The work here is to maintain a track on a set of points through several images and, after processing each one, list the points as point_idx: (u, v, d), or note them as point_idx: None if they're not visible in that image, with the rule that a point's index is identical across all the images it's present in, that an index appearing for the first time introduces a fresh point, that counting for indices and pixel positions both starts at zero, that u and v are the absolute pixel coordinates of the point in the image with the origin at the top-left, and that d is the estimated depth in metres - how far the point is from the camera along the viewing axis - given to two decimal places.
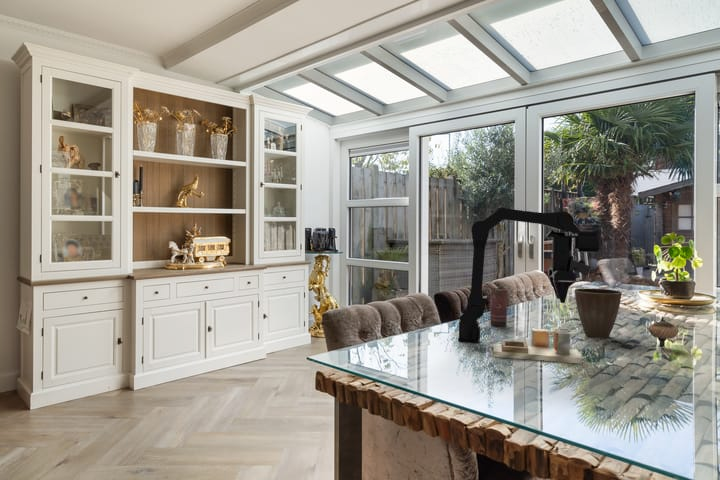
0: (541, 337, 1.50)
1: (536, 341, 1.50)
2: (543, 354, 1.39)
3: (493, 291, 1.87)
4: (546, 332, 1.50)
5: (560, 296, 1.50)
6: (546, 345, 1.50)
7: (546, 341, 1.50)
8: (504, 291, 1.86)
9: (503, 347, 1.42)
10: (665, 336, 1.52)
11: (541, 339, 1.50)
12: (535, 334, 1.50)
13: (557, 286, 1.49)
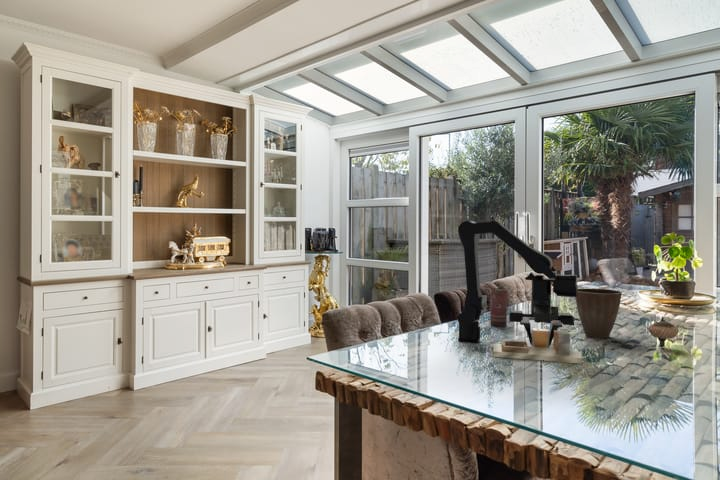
0: (540, 337, 1.50)
1: (536, 341, 1.50)
2: (543, 354, 1.39)
3: (493, 291, 1.87)
4: (546, 332, 1.50)
5: None
6: (546, 345, 1.50)
7: (546, 341, 1.50)
8: (504, 291, 1.86)
9: (503, 347, 1.42)
10: (665, 336, 1.52)
11: (541, 339, 1.50)
12: (535, 334, 1.50)
13: None
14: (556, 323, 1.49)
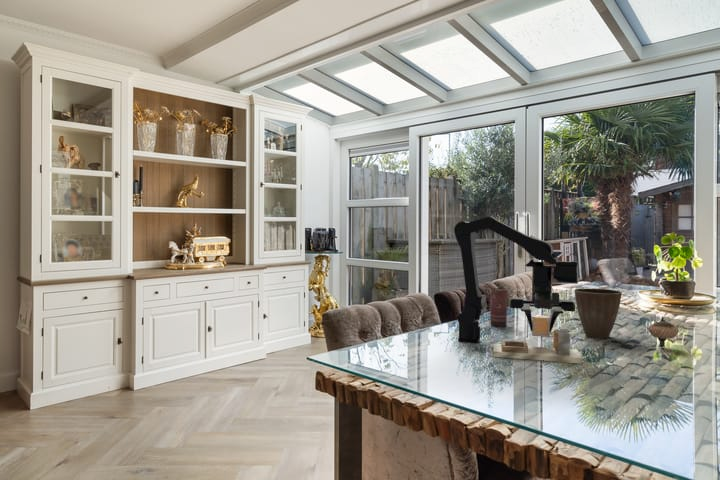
0: (541, 324, 1.50)
1: (537, 328, 1.50)
2: (543, 354, 1.39)
3: (493, 291, 1.87)
4: (546, 319, 1.49)
5: None
6: (547, 331, 1.49)
7: (547, 327, 1.49)
8: (504, 291, 1.86)
9: (503, 347, 1.42)
10: (665, 336, 1.52)
11: (542, 325, 1.50)
12: (536, 321, 1.50)
13: None
14: (557, 309, 1.49)
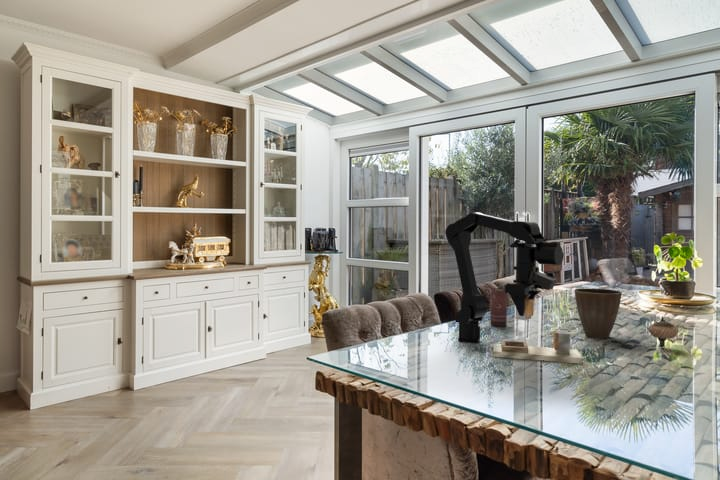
0: (531, 306, 1.46)
1: (529, 311, 1.45)
2: (543, 354, 1.39)
3: (493, 291, 1.87)
4: (533, 300, 1.47)
5: (518, 308, 1.45)
6: (533, 313, 1.48)
7: (533, 309, 1.47)
8: None
9: (503, 347, 1.42)
10: (665, 336, 1.52)
11: (531, 308, 1.46)
12: (529, 304, 1.45)
13: (513, 298, 1.45)
14: (535, 289, 1.50)
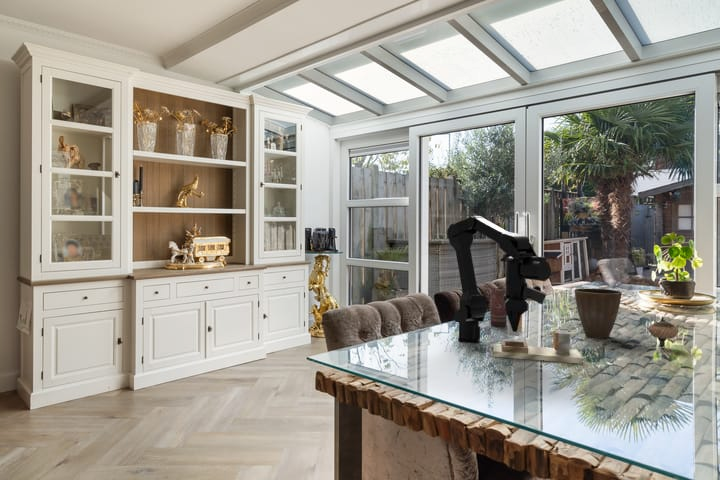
0: None
1: (521, 326, 1.43)
2: (543, 354, 1.39)
3: (493, 291, 1.87)
4: None
5: (512, 325, 1.42)
6: None
7: None
8: (504, 291, 1.86)
9: (503, 347, 1.42)
10: (665, 336, 1.52)
11: None
12: None
13: (509, 314, 1.41)
14: None
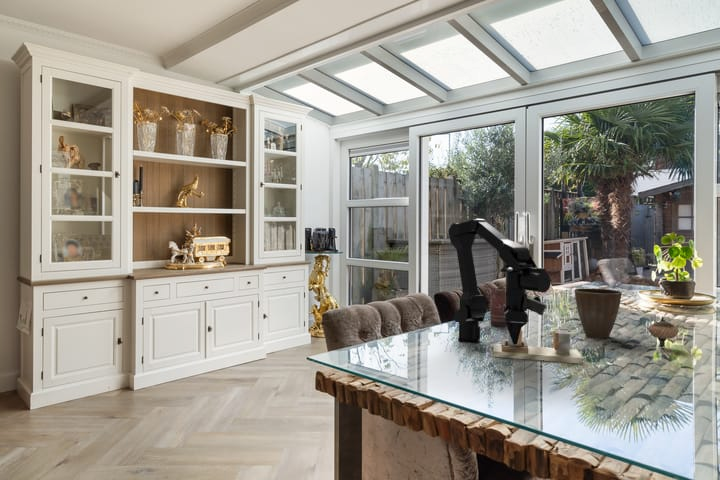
0: None
1: (521, 341, 1.44)
2: (543, 354, 1.39)
3: (493, 291, 1.87)
4: None
5: (512, 337, 1.40)
6: None
7: None
8: (504, 291, 1.86)
9: (503, 347, 1.42)
10: (665, 336, 1.52)
11: None
12: (521, 334, 1.43)
13: (509, 327, 1.39)
14: None
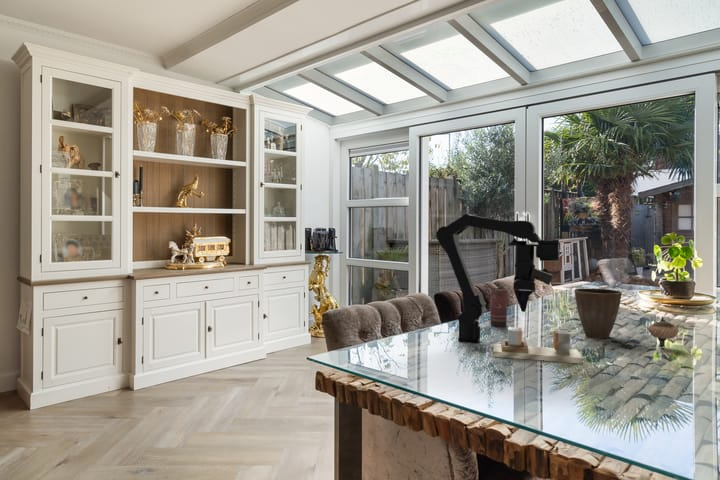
0: None
1: (521, 341, 1.44)
2: (543, 354, 1.39)
3: (493, 291, 1.87)
4: None
5: (521, 305, 1.50)
6: None
7: None
8: (504, 291, 1.86)
9: (503, 347, 1.42)
10: (665, 336, 1.52)
11: None
12: (521, 334, 1.43)
13: (517, 295, 1.49)
14: None
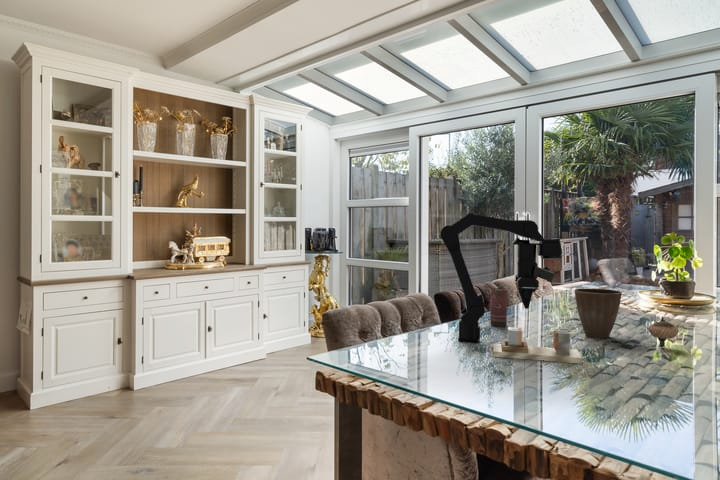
0: None
1: (521, 341, 1.44)
2: (543, 354, 1.39)
3: (493, 291, 1.87)
4: None
5: (524, 302, 1.54)
6: None
7: None
8: (504, 291, 1.86)
9: (503, 347, 1.42)
10: (665, 336, 1.52)
11: None
12: (521, 334, 1.43)
13: (521, 292, 1.54)
14: None
